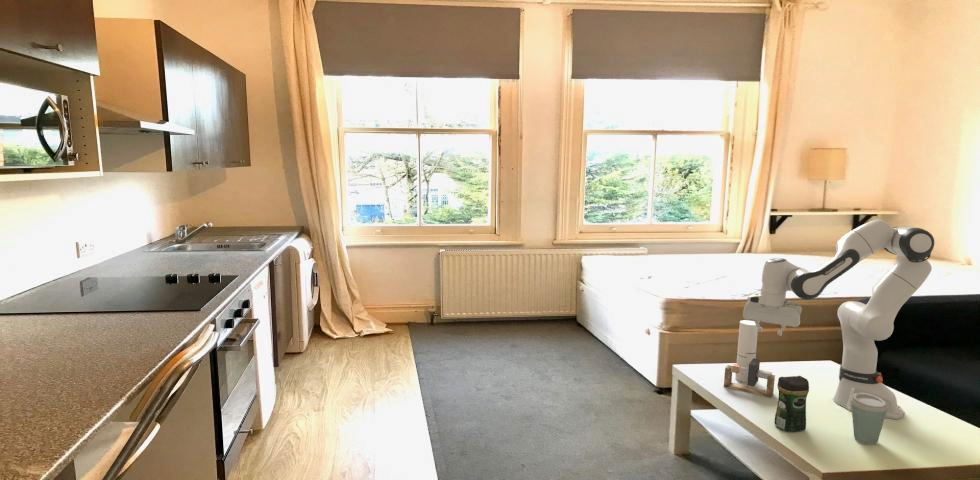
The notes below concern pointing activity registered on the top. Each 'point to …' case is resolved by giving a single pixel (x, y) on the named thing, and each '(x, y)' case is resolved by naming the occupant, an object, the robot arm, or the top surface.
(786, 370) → the top surface
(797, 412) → the coffee jar
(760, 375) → the light grey long bar
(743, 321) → the cylindrical container
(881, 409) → the disposable coffee cup
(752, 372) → the collar
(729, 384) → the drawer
